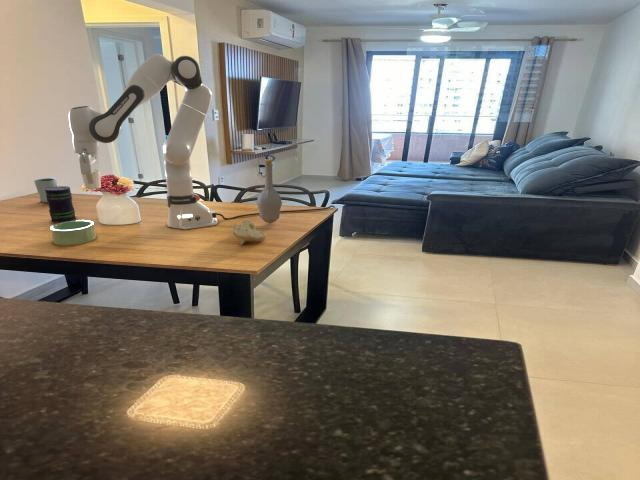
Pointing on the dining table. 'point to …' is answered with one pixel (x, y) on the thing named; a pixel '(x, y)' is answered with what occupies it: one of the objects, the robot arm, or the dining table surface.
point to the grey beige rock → (247, 232)
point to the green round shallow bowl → (73, 232)
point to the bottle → (269, 198)
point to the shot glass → (95, 179)
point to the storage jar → (60, 204)
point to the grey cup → (44, 187)
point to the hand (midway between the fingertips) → (92, 182)
